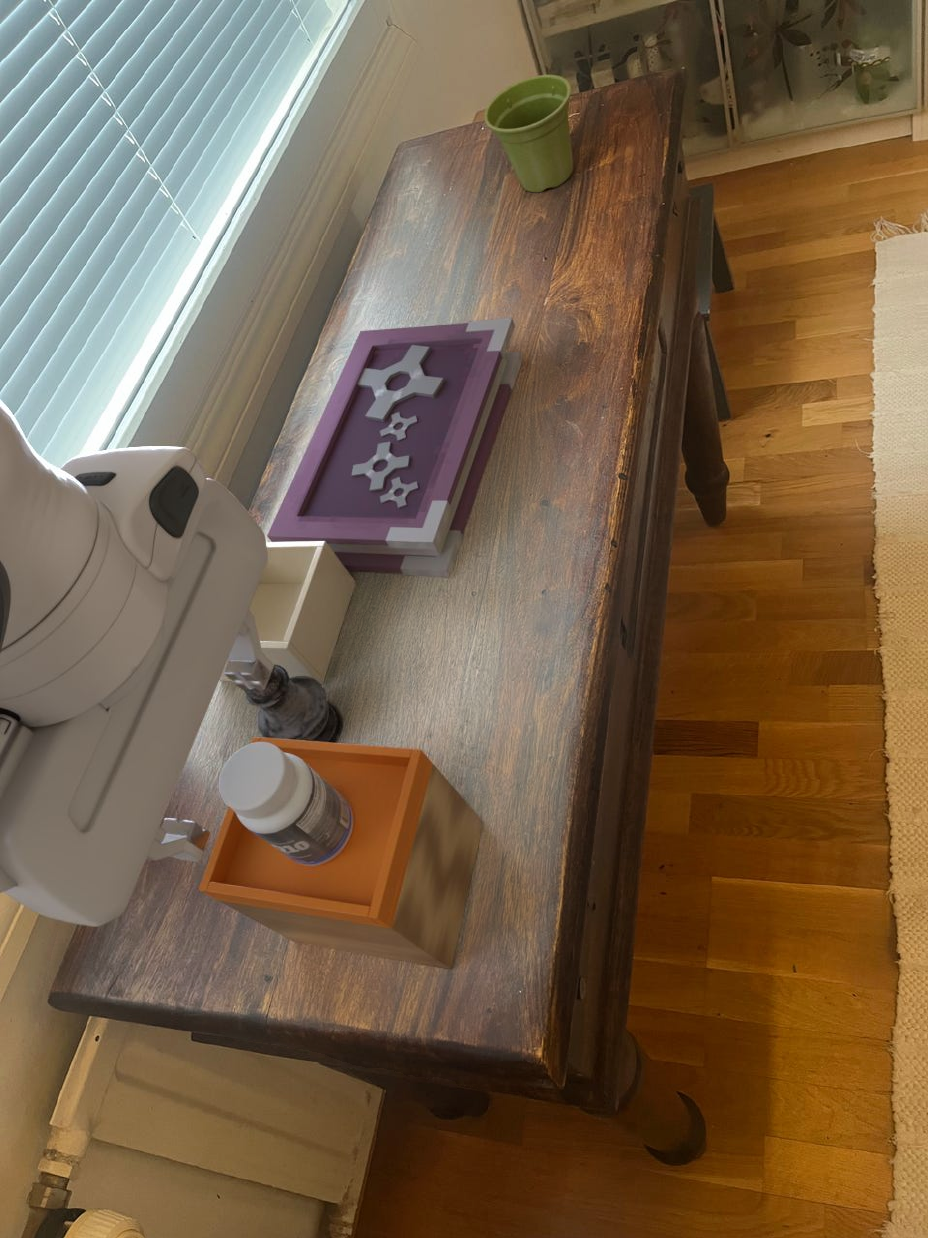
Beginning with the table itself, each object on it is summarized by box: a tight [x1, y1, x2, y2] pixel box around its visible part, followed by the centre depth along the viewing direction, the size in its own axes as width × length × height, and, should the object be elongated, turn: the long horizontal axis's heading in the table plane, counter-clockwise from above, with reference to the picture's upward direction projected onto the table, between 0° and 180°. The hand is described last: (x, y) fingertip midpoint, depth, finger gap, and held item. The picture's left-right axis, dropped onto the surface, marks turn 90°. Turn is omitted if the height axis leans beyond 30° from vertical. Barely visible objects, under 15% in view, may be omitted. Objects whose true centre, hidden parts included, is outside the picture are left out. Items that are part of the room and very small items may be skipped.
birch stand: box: [217, 763, 484, 971], centre depth 61 cm, size 10×12×10 cm
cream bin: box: [219, 541, 357, 686], centre depth 78 cm, size 10×10×6 cm
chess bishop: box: [232, 665, 344, 743], centre depth 69 cm, size 6×6×12 cm
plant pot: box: [483, 74, 574, 193], centre depth 101 cm, size 9×9×9 cm
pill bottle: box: [218, 742, 354, 866], centre depth 53 cm, size 5×5×8 cm
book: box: [266, 317, 524, 578], centre depth 84 cm, size 25×16×5 cm, turn 163°
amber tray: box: [198, 736, 434, 928], centre depth 56 cm, size 10×12×2 cm
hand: (228, 758), depth 48 cm, fingers open, 8 cm apart
